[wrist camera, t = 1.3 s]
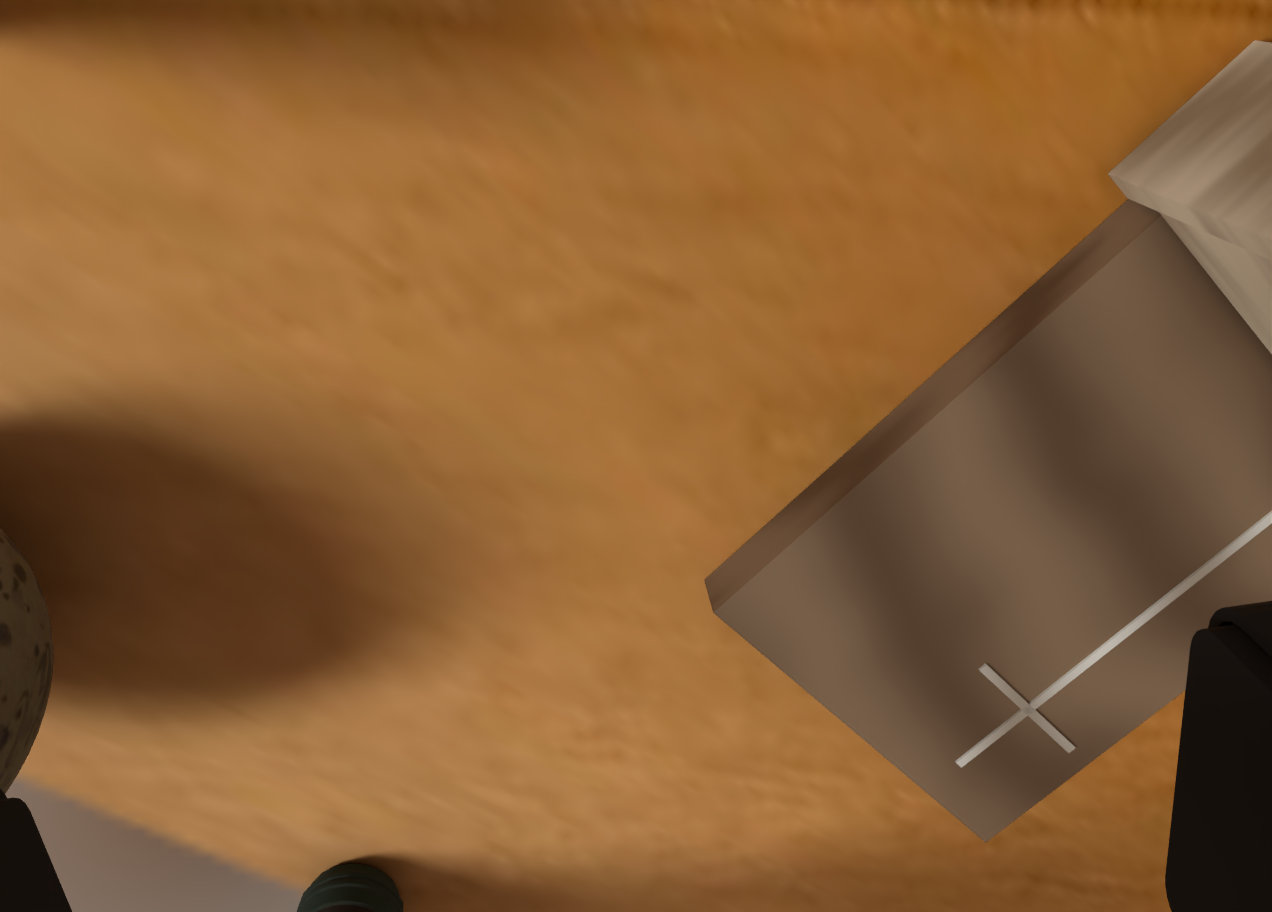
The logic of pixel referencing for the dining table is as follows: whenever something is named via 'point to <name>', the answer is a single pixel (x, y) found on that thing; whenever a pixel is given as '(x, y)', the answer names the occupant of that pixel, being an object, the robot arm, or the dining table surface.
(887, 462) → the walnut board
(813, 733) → the dining table surface
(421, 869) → the dining table surface
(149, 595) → the dining table surface
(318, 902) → the stick grenade
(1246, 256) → the block
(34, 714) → the decorative egg
